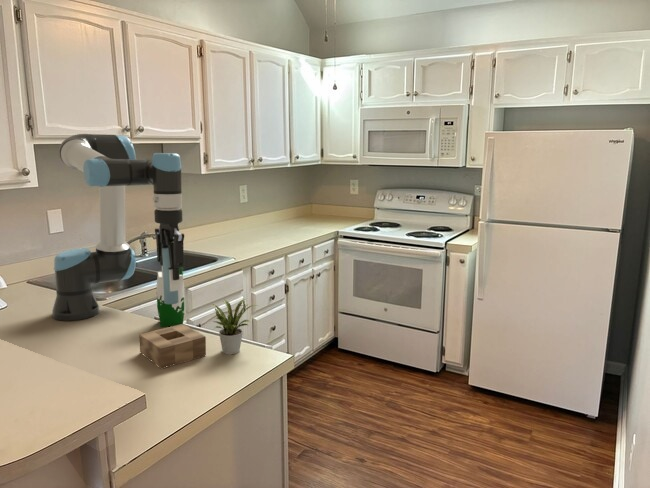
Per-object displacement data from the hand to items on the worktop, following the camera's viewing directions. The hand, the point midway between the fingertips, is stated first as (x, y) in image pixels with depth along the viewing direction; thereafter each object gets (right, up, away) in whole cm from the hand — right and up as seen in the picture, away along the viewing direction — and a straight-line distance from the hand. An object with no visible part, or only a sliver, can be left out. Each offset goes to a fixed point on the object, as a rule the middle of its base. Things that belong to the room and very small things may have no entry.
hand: (171, 288), depth 142 cm
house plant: (+17, -20, +9) cm, 28 cm away
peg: (0, -4, +1) cm, 4 cm away
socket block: (-1, -20, +4) cm, 20 cm away
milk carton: (-9, -15, +30) cm, 35 cm away
